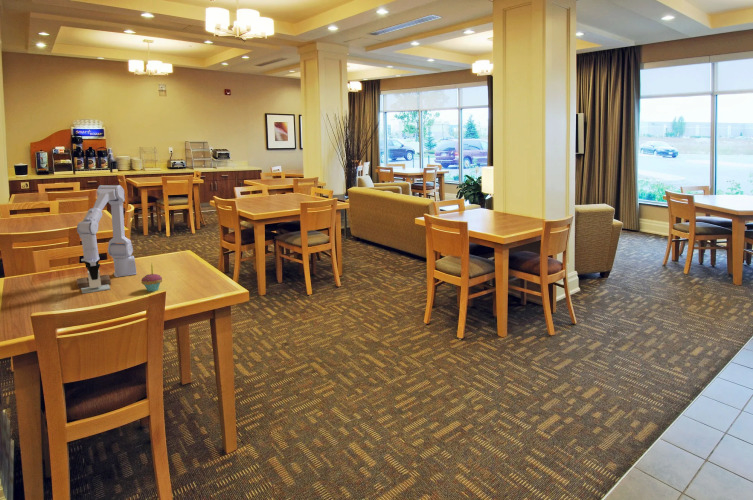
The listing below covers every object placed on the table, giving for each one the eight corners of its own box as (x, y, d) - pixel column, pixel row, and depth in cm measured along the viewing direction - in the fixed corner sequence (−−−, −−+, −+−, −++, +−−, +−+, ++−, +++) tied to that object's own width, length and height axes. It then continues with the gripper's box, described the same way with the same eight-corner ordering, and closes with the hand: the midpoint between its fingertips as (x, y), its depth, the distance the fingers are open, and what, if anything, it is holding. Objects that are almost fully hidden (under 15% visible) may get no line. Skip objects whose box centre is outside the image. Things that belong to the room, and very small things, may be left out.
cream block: (100, 284, 231) (98, 269, 229) (101, 286, 227) (99, 271, 225) (89, 285, 228) (87, 270, 227) (90, 288, 225) (87, 272, 223)
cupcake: (146, 287, 232) (143, 261, 229) (165, 286, 232) (163, 261, 230) (139, 293, 223) (136, 266, 220) (159, 292, 224) (157, 266, 221)
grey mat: (108, 285, 234) (108, 284, 234) (110, 289, 228) (110, 288, 228) (81, 289, 228) (81, 288, 228) (82, 293, 222) (82, 292, 222)
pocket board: (108, 279, 243) (108, 274, 242) (110, 284, 236) (110, 279, 235) (77, 284, 236) (76, 278, 236) (78, 289, 229) (77, 283, 228)
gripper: (78, 246, 228) (82, 275, 231) (80, 252, 216) (85, 283, 219) (96, 244, 231) (100, 273, 234) (99, 250, 219) (103, 281, 223)
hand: (94, 278), depth 227 cm, fingers closed on cream block, 4 cm apart
